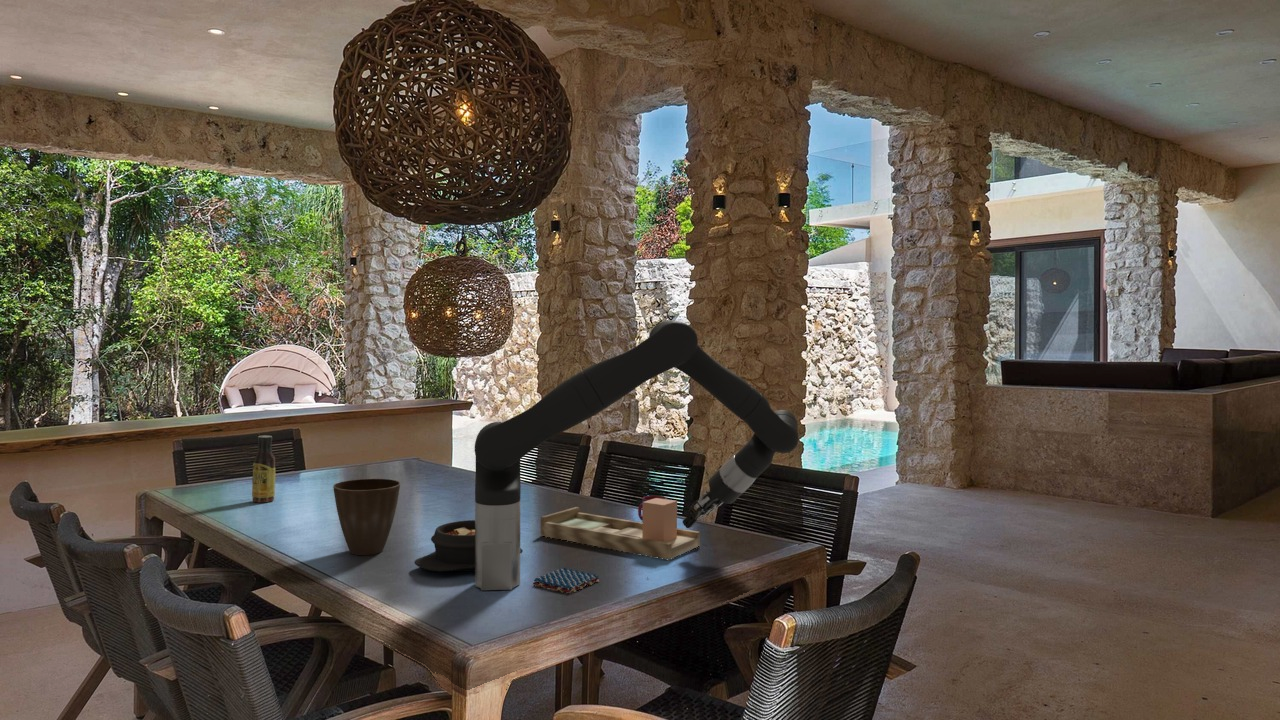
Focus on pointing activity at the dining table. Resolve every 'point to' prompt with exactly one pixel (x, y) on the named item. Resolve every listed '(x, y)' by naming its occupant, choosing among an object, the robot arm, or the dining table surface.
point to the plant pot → (366, 512)
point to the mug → (644, 501)
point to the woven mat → (565, 580)
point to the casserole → (452, 548)
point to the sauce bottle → (264, 472)
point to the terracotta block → (659, 520)
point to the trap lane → (614, 534)
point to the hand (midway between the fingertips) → (686, 524)
